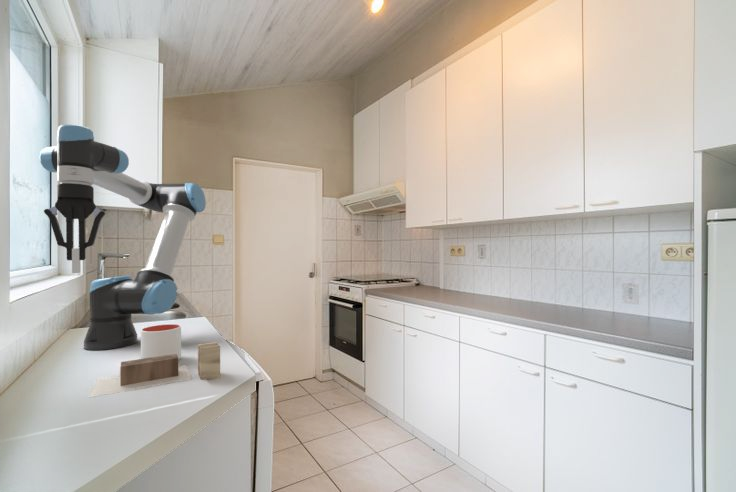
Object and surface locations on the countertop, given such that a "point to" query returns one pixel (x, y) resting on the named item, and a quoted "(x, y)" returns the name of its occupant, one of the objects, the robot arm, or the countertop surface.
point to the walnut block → (148, 369)
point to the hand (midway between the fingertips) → (76, 272)
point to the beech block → (209, 361)
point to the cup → (161, 341)
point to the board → (113, 383)
